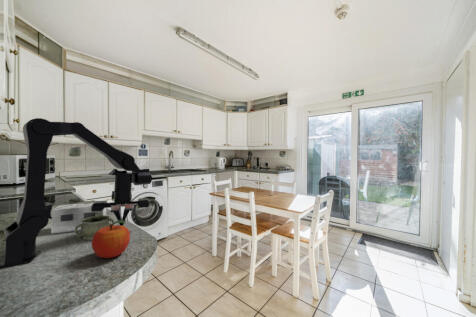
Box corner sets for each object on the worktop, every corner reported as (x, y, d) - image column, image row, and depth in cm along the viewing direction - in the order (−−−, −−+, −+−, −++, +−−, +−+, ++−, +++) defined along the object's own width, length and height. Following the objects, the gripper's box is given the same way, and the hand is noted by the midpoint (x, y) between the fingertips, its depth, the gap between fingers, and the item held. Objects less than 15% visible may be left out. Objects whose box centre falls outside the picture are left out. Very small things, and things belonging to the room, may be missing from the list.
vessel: (110, 228, 77) (110, 213, 77) (117, 234, 72) (118, 217, 72) (72, 237, 68) (72, 219, 68) (76, 244, 62) (77, 225, 62)
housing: (102, 227, 78) (103, 206, 78) (50, 234, 70) (51, 209, 70) (106, 221, 85) (106, 202, 85) (59, 227, 78) (60, 205, 78)
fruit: (97, 250, 59) (98, 217, 59) (132, 245, 62) (133, 215, 62) (85, 266, 50) (86, 228, 50) (126, 260, 53) (127, 224, 53)
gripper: (148, 183, 85) (147, 218, 84) (98, 184, 76) (96, 223, 76) (149, 186, 75) (148, 225, 75) (91, 188, 66) (89, 232, 66)
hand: (121, 226), depth 73 cm, fingers closed
